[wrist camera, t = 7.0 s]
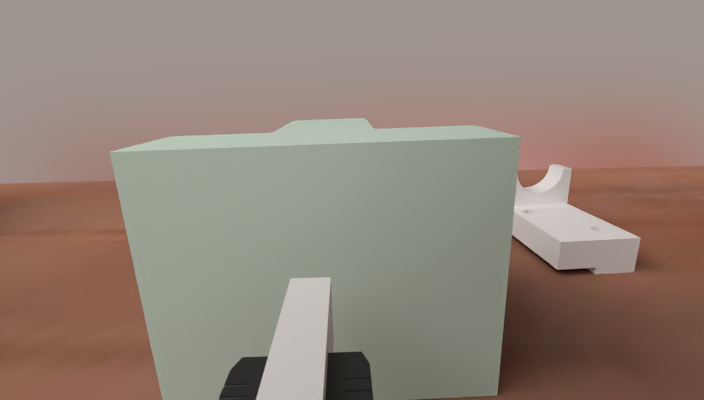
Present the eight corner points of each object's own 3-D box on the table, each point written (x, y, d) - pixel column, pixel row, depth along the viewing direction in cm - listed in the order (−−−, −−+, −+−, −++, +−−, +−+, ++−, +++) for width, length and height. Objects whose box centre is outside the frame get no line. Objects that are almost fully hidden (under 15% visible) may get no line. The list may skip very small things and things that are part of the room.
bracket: (493, 228, 45) (498, 167, 43) (550, 225, 46) (557, 164, 44) (556, 279, 33) (567, 196, 31) (633, 275, 33) (649, 192, 31)
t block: (497, 395, 20) (520, 136, 16) (164, 411, 20) (109, 151, 16) (430, 265, 36) (434, 115, 32) (242, 273, 35) (222, 123, 32)
